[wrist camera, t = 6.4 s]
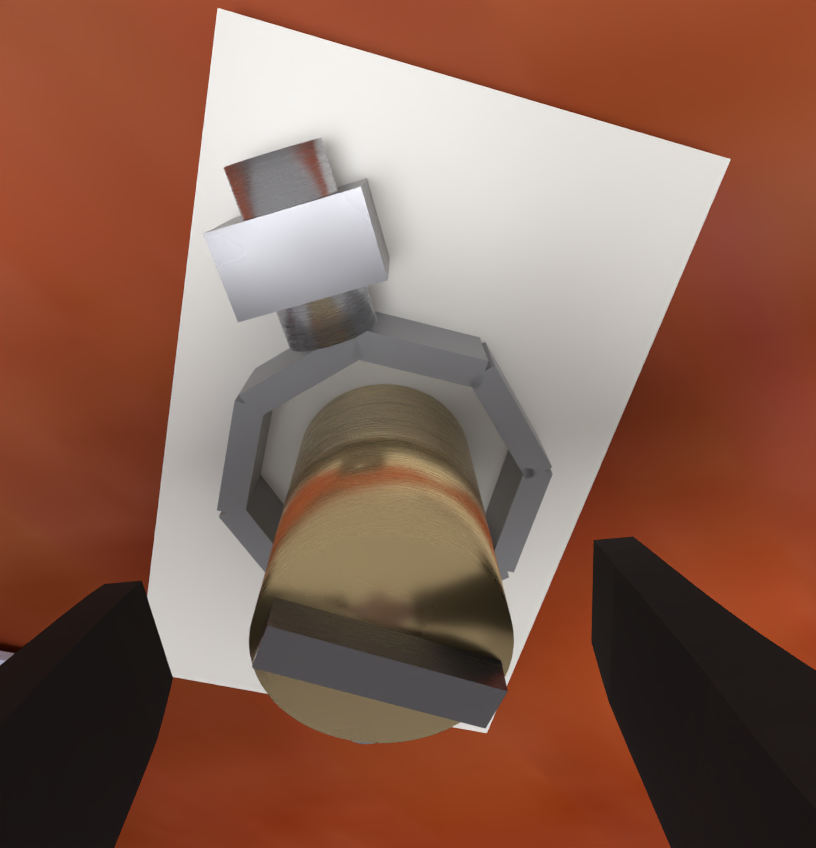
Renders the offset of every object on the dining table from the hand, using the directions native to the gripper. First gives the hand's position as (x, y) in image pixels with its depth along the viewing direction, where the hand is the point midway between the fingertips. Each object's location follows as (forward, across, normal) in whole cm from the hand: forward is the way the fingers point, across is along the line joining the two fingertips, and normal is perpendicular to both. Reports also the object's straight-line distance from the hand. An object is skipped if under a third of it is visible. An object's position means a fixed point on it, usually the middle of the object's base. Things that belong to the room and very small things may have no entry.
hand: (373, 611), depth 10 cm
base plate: (+6, 0, 0) cm, 6 cm away
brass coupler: (+5, 0, 0) cm, 5 cm away
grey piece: (+5, +1, -5) cm, 7 cm away
